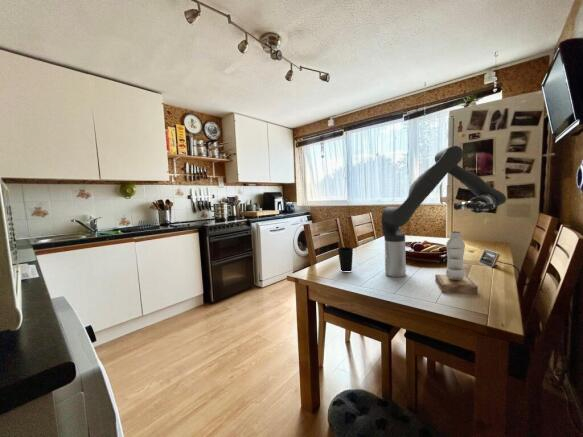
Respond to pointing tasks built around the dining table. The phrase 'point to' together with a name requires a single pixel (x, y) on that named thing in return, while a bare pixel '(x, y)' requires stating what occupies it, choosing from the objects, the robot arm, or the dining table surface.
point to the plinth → (456, 285)
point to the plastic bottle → (455, 256)
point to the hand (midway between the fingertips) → (467, 207)
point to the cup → (345, 258)
